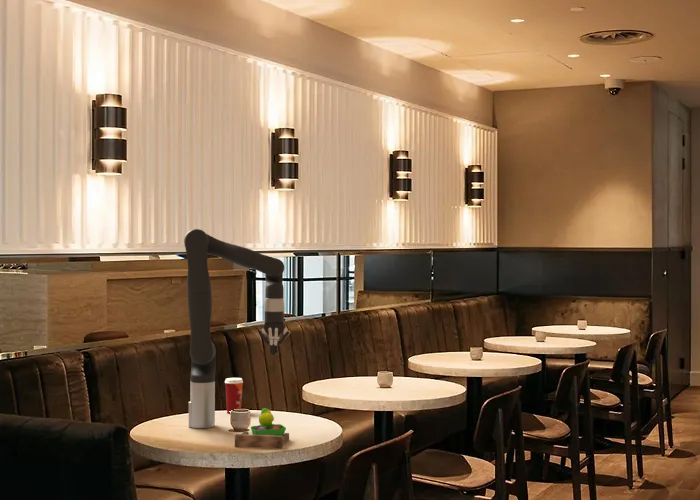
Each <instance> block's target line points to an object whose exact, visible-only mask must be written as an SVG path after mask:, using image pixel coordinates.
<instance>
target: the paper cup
mask: <svg viewBox="0 0 700 500" xmlns="http://www.w3.org/2000/svg"><path fill="white" fill-rule="evenodd" d="M243 383H244V381H243V378H242V377H228V378H225V380H224V384H225V401H226V404H225V405H226V413H227V414H228V415H230V414H229V413H230V412H229V411H231V410H234V409H241V410H242V402H243V401H242V398H243Z"/></svg>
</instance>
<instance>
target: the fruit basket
mask: <svg viewBox="0 0 700 500" xmlns="http://www.w3.org/2000/svg"><path fill="white" fill-rule="evenodd" d="M260 411H261V412H260V414H259V417H258V422H259V425H253V426H250V430H251V433H252V435H276V436H283V435H284V434H285V433H286V430H287V427H286V426H284V425H283V424H281V423H277V424H274V423H273V422H274V421H275V417H274V415H273V414H272V412H271V409H268V408H266V407H265V408H261V410H260Z"/></svg>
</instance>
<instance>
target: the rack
mask: <svg viewBox="0 0 700 500" xmlns="http://www.w3.org/2000/svg"><path fill="white" fill-rule="evenodd" d="M289 441H290V432H285V433H284V435H283V436H276V435H253V434H250V433H249V431H246V430H245V431H243V432H242V433H241V434H240V433H235V434H234V447H236V448H259V449H260V448H261V449H283V447H284V446H285V445H286V444H287V443H288V442H289Z"/></svg>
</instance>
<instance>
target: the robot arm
mask: <svg viewBox="0 0 700 500" xmlns="http://www.w3.org/2000/svg"><path fill="white" fill-rule="evenodd" d="M183 239H184V240H183V243H184V248H185V253H186V260H187V276H186V300H187V311H188V317H189V318H188V320H189V325H190V326H189V327H190V342H189V343H190V344H189V356H190V358H191V363H190V365H191V366H190V367H191V369H190V378H189V380H190V381H189V382H190V385H189V387H190V388H189V389H190V390H189V391H190V393H189V394H190V401H188V427H189V428H195V429H208V428H213V427H215V423H216V422H215V421H216V419H215V418H216V417H215V415H216V407H215V405H216V397H215V396H216V395H215V394H216V389H215V388H216V386H215V385H216V382H215V381H216V369H217V368H216V366H217V364H216V361H217V360H216V357H217V356H216V355H217V354H216V353H217V350H216V346H215V344H214V342H213V341H212V334H211V319H212V310H213V296H212V294H213V293H212V286H211V285H212V284H211V279H210V278H211V277H210V272H209V265H208V255H211V256H215V257H218V258H220V259H223V260H226V261H228V262H230V263H233V264H235V265H238V266H241V267H244V268H247V269H250V270H254V271H258V272H260V273H262V274H265V297H264V298H265V300H264V324H263V326H262V328H261V329H260V330H258V331H257V333H258V335H259V336H260V337H261V339H262V340H263V341H264V342H265V344H268V345H269V353H270V354H271V356H276V355H277V354H278V352H279V345H281V344H283V343H284V341H285V340H286V339H287V337H289V336H290V334H291V331H290V330H288V328H286V325H285V301H284V300H285V299H284V295H285V293H284V292H285V290H284V284H283V279H284V278H283V277H284V272H285V264H284V262H283V261H282V260H281V259H280V258H276V257H274V256H273V257H272V256H269V255H265V254H263V253H260V252H258V251H255V250H253V249H250V248H247V247H244V246H241V245H237V244H234V243H229V242H225V241H223V240H221V239H217V238H215V237H213V236H212V235H210V234H208V233H206V232H205V231H204V230H202V229H200V228H193V229H191V230H189V231H188V232H186V233H185V236H184V238H183ZM282 333H283V336H282V337H281V338H280V336H281V334H282ZM266 334H267V335H266ZM267 336H268V337H267Z"/></svg>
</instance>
